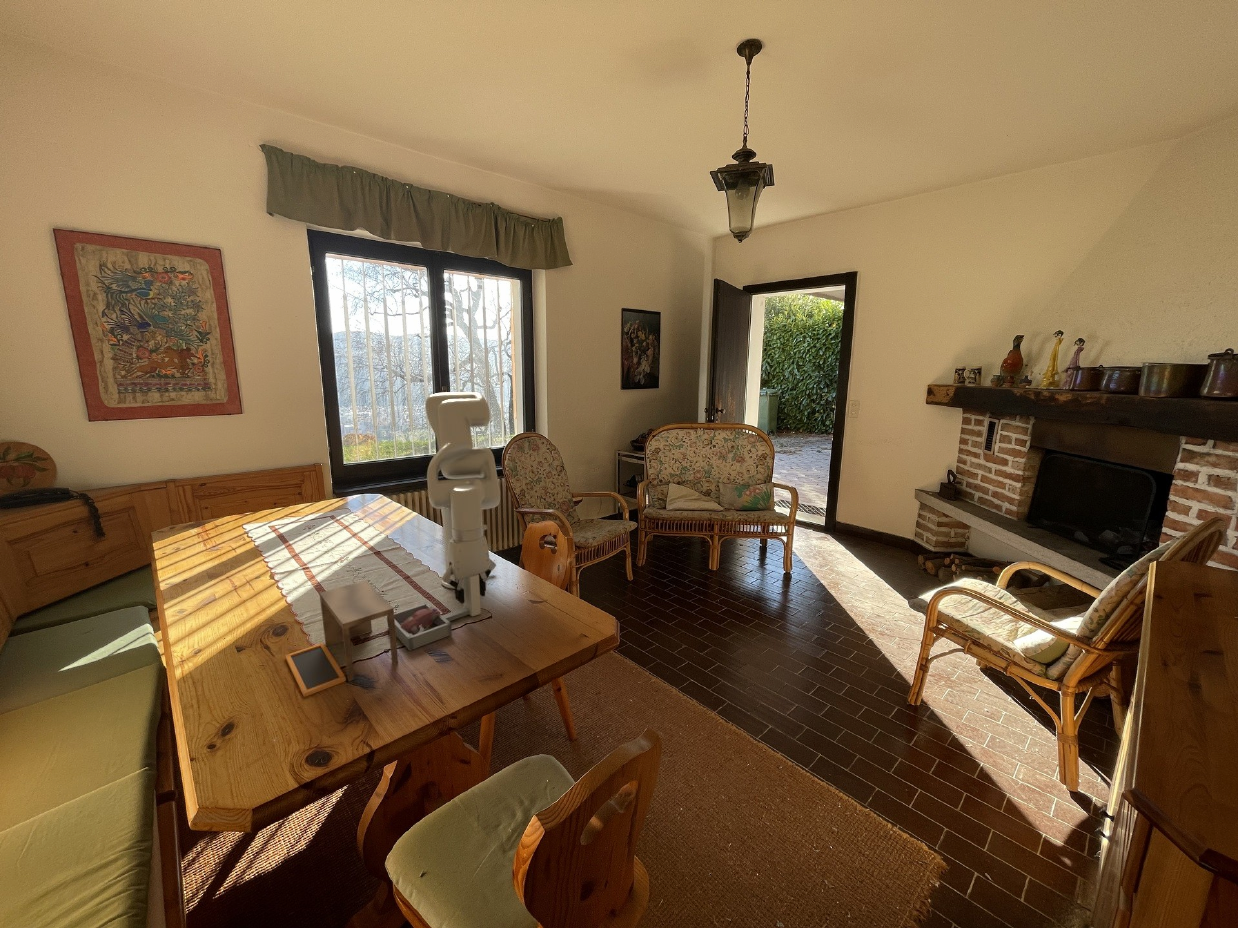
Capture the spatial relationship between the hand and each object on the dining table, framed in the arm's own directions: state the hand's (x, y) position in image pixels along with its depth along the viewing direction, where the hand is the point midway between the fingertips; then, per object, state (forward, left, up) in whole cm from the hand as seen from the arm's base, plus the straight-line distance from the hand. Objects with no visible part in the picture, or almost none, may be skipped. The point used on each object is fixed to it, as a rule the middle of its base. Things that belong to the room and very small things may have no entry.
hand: (471, 597), depth 131 cm
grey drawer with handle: (+9, 0, -4) cm, 10 cm away
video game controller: (+14, 0, -4) cm, 15 cm away
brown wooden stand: (+28, 0, -4) cm, 28 cm away
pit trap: (+37, 0, -4) cm, 37 cm away
